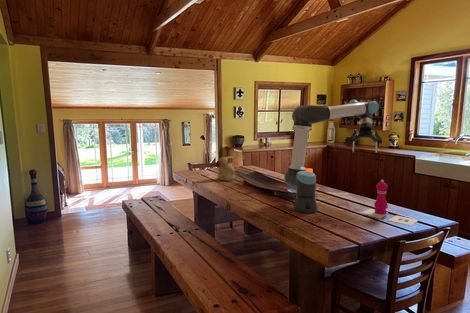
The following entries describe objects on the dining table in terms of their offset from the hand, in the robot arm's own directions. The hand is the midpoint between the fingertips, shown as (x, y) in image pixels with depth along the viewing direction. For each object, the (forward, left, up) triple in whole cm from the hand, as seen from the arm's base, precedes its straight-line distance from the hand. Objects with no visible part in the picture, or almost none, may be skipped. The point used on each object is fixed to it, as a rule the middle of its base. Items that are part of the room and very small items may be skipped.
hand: (364, 150), depth 202 cm
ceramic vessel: (-5, +124, -36) cm, 129 cm away
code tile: (-12, -29, -36) cm, 47 cm away
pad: (-12, -13, -36) cm, 40 cm away
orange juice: (-3, +41, -36) cm, 55 cm away
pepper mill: (-10, -16, -35) cm, 40 cm away
